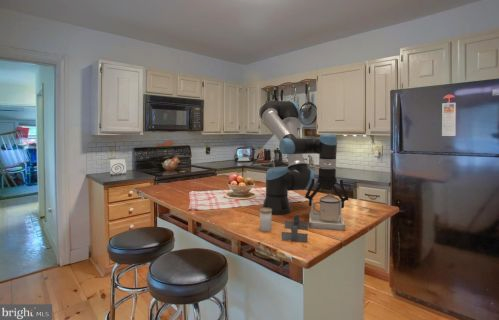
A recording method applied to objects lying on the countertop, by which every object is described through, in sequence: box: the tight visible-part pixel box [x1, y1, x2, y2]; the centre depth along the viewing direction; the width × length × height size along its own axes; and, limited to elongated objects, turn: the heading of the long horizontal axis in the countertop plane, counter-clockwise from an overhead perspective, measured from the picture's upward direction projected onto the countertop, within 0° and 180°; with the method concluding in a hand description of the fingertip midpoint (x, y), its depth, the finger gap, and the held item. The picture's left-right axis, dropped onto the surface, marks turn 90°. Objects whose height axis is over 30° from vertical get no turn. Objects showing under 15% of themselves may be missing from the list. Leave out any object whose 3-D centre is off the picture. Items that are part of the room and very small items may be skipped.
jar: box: [259, 207, 273, 232], centre depth 121 cm, size 5×5×9 cm
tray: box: [308, 210, 346, 232], centre depth 130 cm, size 15×18×2 cm
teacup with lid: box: [313, 192, 341, 221], centre depth 130 cm, size 12×9×12 cm
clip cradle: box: [280, 214, 309, 243], centre depth 115 cm, size 10×15×6 cm, turn 167°
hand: (325, 213), depth 130 cm, fingers closed on teacup with lid, 12 cm apart
